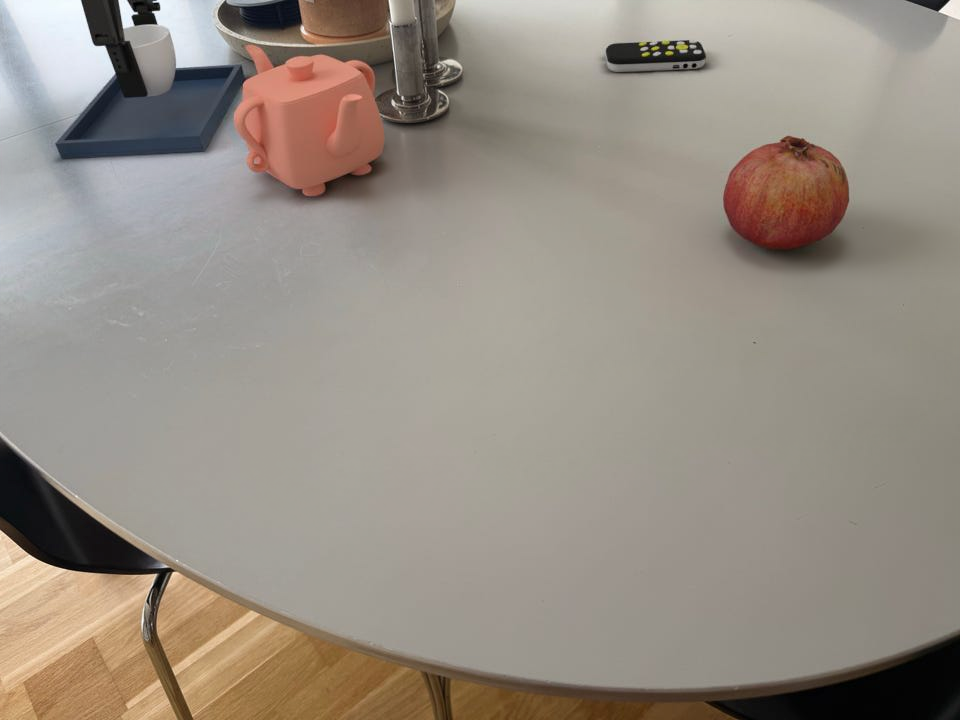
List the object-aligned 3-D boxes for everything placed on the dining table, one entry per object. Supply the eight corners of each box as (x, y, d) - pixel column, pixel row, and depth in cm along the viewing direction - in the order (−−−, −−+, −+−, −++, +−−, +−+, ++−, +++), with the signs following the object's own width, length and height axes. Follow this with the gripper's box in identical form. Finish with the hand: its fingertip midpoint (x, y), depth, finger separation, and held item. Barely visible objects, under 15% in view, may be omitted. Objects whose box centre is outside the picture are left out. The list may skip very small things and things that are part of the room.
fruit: (840, 220, 78) (867, 122, 72) (832, 279, 71) (860, 177, 65) (727, 204, 82) (742, 109, 75) (708, 258, 75) (723, 159, 68)
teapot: (378, 206, 86) (359, 89, 77) (228, 204, 88) (193, 91, 79) (404, 139, 97) (390, 31, 88) (270, 139, 99) (244, 34, 90)
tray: (204, 151, 98) (199, 135, 96) (61, 158, 99) (54, 143, 97) (245, 78, 114) (241, 64, 112) (122, 85, 115) (116, 71, 113)
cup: (134, 108, 99) (114, 53, 95) (110, 83, 106) (90, 31, 101) (194, 89, 103) (178, 35, 98) (167, 66, 109) (150, 15, 104)
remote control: (604, 55, 112) (605, 41, 110) (699, 51, 111) (700, 36, 109) (607, 74, 107) (608, 59, 106) (706, 70, 106) (708, 54, 105)
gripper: (74, -102, 80) (150, 116, 95) (143, -146, 96) (200, 46, 111) (0, -97, 80) (88, 119, 95) (81, -142, 96) (146, 50, 111)
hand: (148, 80), depth 103 cm, fingers closed on cup, 9 cm apart
